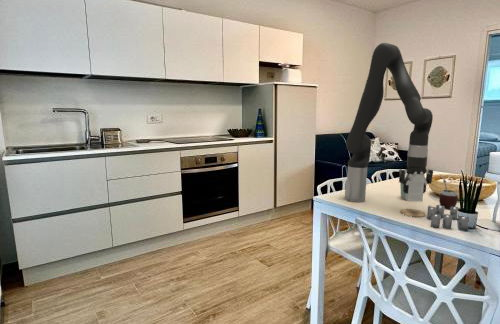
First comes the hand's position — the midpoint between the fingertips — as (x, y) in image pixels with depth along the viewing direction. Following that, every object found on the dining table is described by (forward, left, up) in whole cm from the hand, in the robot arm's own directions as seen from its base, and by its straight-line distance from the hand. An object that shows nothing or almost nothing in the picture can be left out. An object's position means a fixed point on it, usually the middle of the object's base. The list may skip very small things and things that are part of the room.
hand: (414, 192), depth 137 cm
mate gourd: (+21, +8, -10) cm, 24 cm away
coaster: (0, 0, -9) cm, 9 cm away
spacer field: (+9, -12, -9) cm, 18 cm away
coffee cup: (+10, +22, -10) cm, 26 cm away
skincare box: (0, 0, -3) cm, 3 cm away
